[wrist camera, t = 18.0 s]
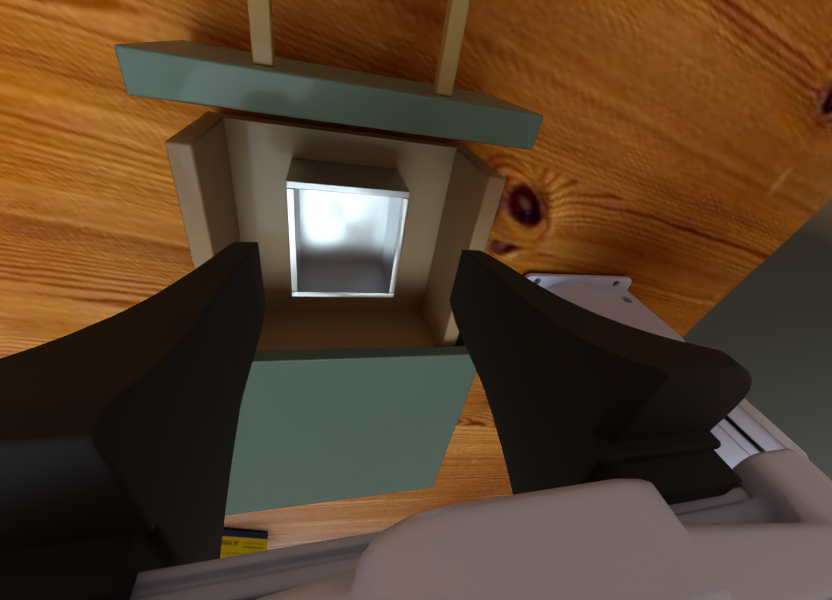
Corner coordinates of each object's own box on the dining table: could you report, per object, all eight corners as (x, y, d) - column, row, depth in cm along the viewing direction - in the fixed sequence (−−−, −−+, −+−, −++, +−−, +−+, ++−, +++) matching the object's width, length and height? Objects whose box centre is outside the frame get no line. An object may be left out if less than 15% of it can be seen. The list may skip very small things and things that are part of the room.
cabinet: (216, 271, 21) (174, 364, 15) (446, 278, 24) (483, 354, 19) (245, 419, 29) (225, 515, 23) (413, 407, 33) (432, 487, 27)
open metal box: (398, 169, 17) (410, 191, 15) (385, 265, 21) (393, 298, 18) (291, 157, 16) (285, 180, 14) (296, 262, 19) (291, 296, 17)
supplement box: (194, 549, 41) (160, 687, 32) (218, 526, 39) (188, 666, 30) (245, 552, 44) (226, 678, 35) (269, 531, 42) (255, 659, 33)
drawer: (141, -174, 11) (13, -318, 6) (524, -56, 14) (615, -96, 10) (229, 308, 21) (204, 381, 17) (435, 309, 25) (458, 369, 20)
